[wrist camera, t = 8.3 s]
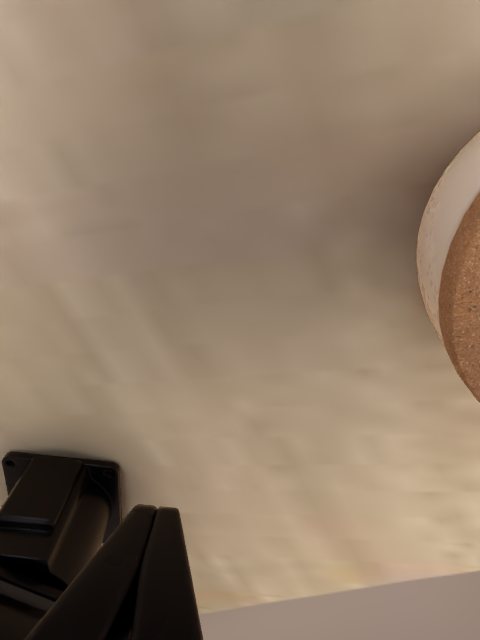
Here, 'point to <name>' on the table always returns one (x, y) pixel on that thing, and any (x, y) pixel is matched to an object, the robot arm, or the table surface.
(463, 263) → the trinket box
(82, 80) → the table surface
